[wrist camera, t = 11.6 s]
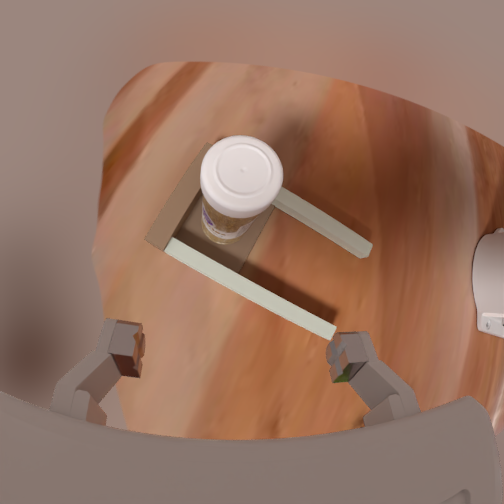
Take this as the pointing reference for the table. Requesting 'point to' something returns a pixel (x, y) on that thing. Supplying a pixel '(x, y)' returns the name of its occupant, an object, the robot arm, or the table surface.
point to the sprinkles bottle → (237, 186)
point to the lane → (242, 243)
